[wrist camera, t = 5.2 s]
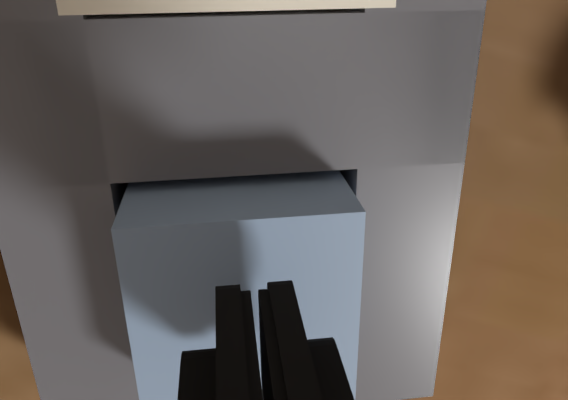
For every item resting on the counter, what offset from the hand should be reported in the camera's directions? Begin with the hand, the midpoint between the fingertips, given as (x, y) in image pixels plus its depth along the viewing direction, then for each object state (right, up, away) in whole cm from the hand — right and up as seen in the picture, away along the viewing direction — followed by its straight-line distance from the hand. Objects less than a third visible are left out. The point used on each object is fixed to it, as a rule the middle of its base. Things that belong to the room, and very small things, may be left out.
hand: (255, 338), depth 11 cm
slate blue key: (-1, +2, +5) cm, 6 cm away
